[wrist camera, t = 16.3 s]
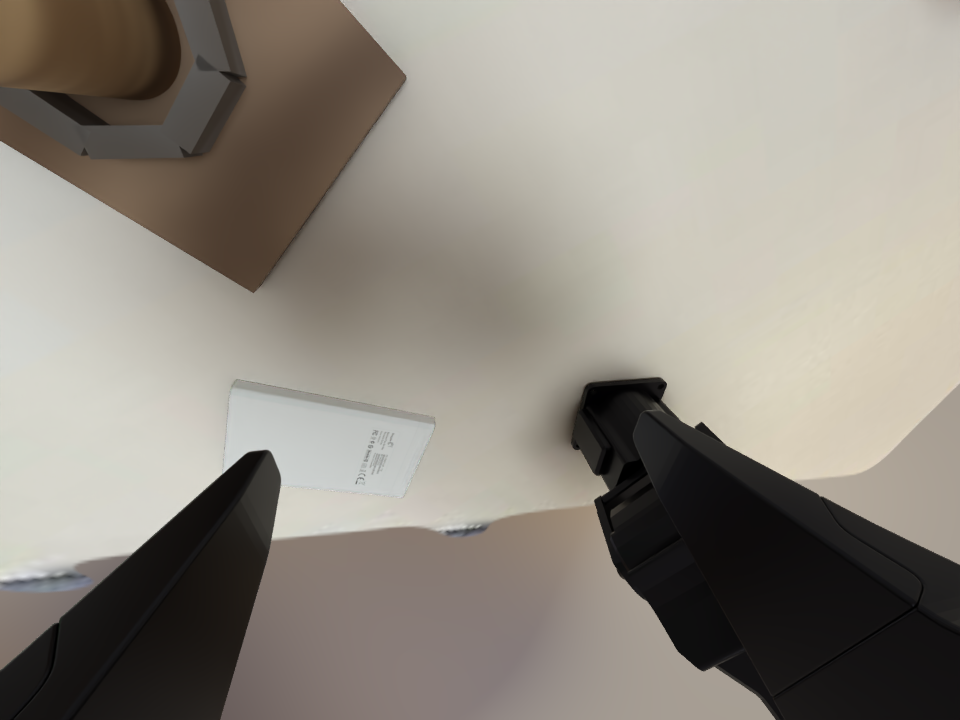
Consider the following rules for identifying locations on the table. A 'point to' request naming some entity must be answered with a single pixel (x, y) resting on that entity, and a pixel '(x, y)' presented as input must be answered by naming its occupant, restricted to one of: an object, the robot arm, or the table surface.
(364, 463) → the external hard drive
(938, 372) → the table surface
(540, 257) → the table surface
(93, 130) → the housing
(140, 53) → the light brown tall cylinder
